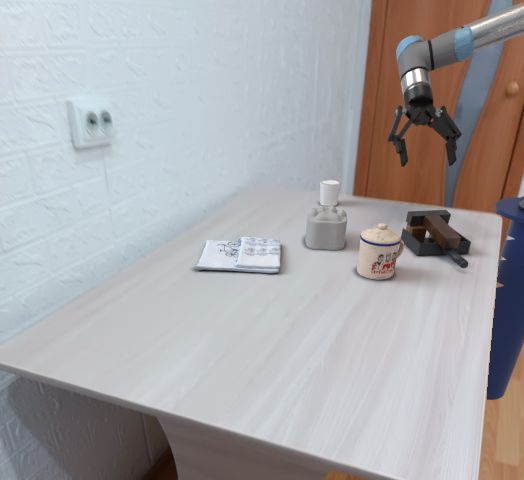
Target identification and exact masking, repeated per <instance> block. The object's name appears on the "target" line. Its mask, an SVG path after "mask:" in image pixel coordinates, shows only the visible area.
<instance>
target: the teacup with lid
mask: <svg viewBox="0 0 524 480" xmlns="http://www.w3.org/2000/svg"><path fill="white" fill-rule="evenodd" d="M359 239H360V242H359V249H358V250H359V251H358V256H357V262H356V263H357V265H356V272H357V274H359V275H360V276H361V277H364V278H366V279H371V280H378V281H379V280H387V279H390V278H392V277H393V276H394V273H395V268H396V264H397V259H399V258H400V257H401V255H402V254H403V253H404V249H405V244H404V242H403V241H402V240H401V235H400V234H399V233H398V232H396V231H393V230H392V229H390V228H389V227H388V225H387V224H386V223H385V222H384V223H383V222H381V223H380V222H379V223H378V224H377V226H375V227H372V228H368V229H367V228H366V229H364V230H363V231H362V232H361V233H360V235H359Z"/></svg>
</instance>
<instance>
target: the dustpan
mask: <svg viewBox="0 0 524 480" xmlns="http://www.w3.org/2000/svg"><path fill="white" fill-rule="evenodd" d="M452 229H453V230H454V231H455V232H456V233H457V234H458V235H459V236H460V237H461V240H460V243H459V246H458V248H448V249H443V248H442V247H441V246H440V245H439V244H438V243H435V242H434V241H432V240H431V239H430V238H429V237H425V240H424V242H421V243H420V242H419V241H418V240H417V239H416V238H414V237H413V236H412V235H411V234H410V233H409V232H408V231H406V228H404V227H403V228H402V229H401V235H400V237H401V240H402V241H403V242H404V246H406V247H407V248H408V249H409V250H410V251H411V252H412V253H414V254H415V255H416V256H435V255H439V256H441V255H445V256H446V257H447V258H449V260H451V261H452V262H454V264H456V266H458V267H460V268H461V269H466V268H468V267H469V265H470V263H469V261H468V259H465V258H464V257H463V256H462V255H465V254H469V251H470V249H471V244H472V241H471V240H469V239H468V238H466V237H465V236H464V235H463V234H461V233H460V232H458V231H457V230H455V229H454V228H452Z"/></svg>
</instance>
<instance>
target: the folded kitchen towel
mask: <svg viewBox="0 0 524 480" xmlns="http://www.w3.org/2000/svg"><path fill="white" fill-rule="evenodd" d="M280 267H281V239H280V238H265V237H253V236H243V235H241V238H238V240H236V241H235V240H234V241H233V240H231V241H230V240H215V239H207V240H205V246H204V248H203V251H202V254H201V255H200V259H199V260H198V261H197V263H196V264H195V265H194V267H193V268H194V269H195V268H196V270H200V271H201V270H202V271H203V270H207V271H233V272H246V273H263V274H264V273H265V274H275V273H279V272H280Z"/></svg>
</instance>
